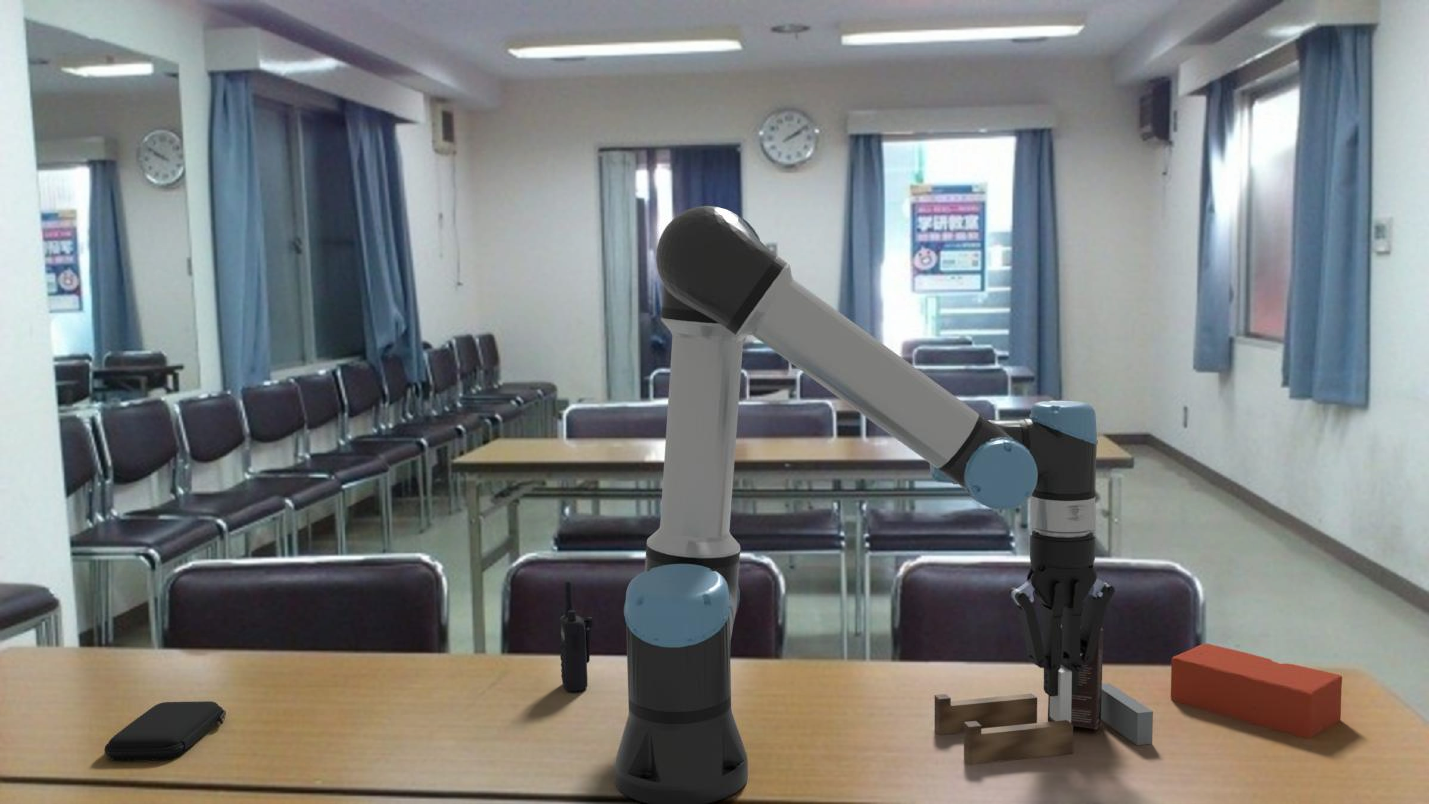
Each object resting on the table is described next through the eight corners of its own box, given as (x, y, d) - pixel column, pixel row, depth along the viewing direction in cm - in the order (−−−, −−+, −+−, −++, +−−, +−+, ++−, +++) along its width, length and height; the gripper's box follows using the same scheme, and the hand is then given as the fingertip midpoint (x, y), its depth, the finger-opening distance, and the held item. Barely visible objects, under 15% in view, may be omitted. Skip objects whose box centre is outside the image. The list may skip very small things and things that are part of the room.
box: (1101, 724, 148) (1104, 627, 148) (1095, 731, 144) (1099, 631, 144) (1052, 716, 150) (1055, 622, 151) (1045, 723, 146) (1049, 626, 147)
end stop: (1137, 745, 141) (1137, 713, 140) (1094, 714, 150) (1094, 684, 150) (1152, 743, 141) (1152, 711, 141) (1108, 713, 151) (1109, 683, 150)
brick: (1169, 701, 155) (1170, 657, 155) (1203, 685, 161) (1204, 642, 160) (1309, 741, 142) (1311, 693, 141) (1341, 722, 147) (1343, 675, 147)
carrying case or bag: (186, 765, 141) (237, 718, 156) (184, 741, 141) (236, 696, 156) (98, 766, 142) (158, 720, 156) (96, 742, 141) (156, 697, 156)
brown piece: (969, 764, 136) (969, 726, 136) (934, 729, 147) (934, 694, 146) (1072, 753, 139) (1073, 716, 138) (1031, 720, 149) (1031, 685, 149)
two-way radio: (559, 682, 167) (555, 578, 165) (590, 678, 168) (587, 575, 166) (566, 695, 161) (562, 588, 160) (598, 691, 163) (595, 585, 161)
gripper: (1026, 540, 136) (1024, 736, 139) (1128, 533, 139) (1125, 726, 141) (998, 527, 144) (997, 713, 146) (1096, 520, 146) (1093, 704, 149)
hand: (1060, 719), depth 144 cm, fingers closed
